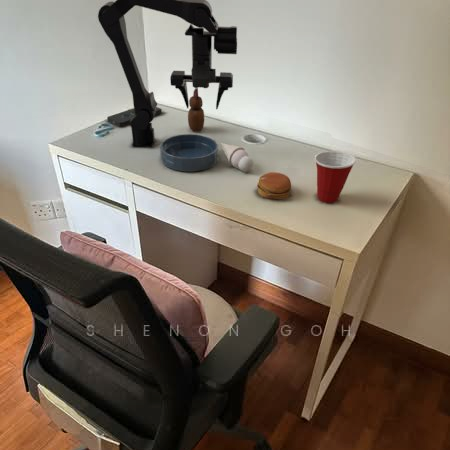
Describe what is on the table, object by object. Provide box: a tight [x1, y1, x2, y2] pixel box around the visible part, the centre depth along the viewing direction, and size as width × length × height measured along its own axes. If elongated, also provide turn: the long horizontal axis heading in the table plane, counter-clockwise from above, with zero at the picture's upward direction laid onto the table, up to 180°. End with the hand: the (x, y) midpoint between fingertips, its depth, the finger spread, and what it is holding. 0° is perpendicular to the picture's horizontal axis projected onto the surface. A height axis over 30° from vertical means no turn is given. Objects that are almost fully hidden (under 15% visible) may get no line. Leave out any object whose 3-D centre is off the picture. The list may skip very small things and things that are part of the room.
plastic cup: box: [314, 150, 357, 204], centre depth 114 cm, size 11×11×12 cm
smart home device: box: [106, 106, 162, 128], centre depth 157 cm, size 8×2×20 cm
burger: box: [256, 171, 292, 200], centre depth 118 cm, size 10×9×5 cm
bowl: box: [159, 133, 219, 172], centre depth 132 cm, size 18×18×4 cm
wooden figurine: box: [187, 87, 205, 133], centre depth 145 cm, size 7×6×15 cm
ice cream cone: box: [220, 142, 254, 173], centre depth 129 cm, size 6×6×15 cm
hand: (202, 108), depth 133 cm, fingers open, 9 cm apart
